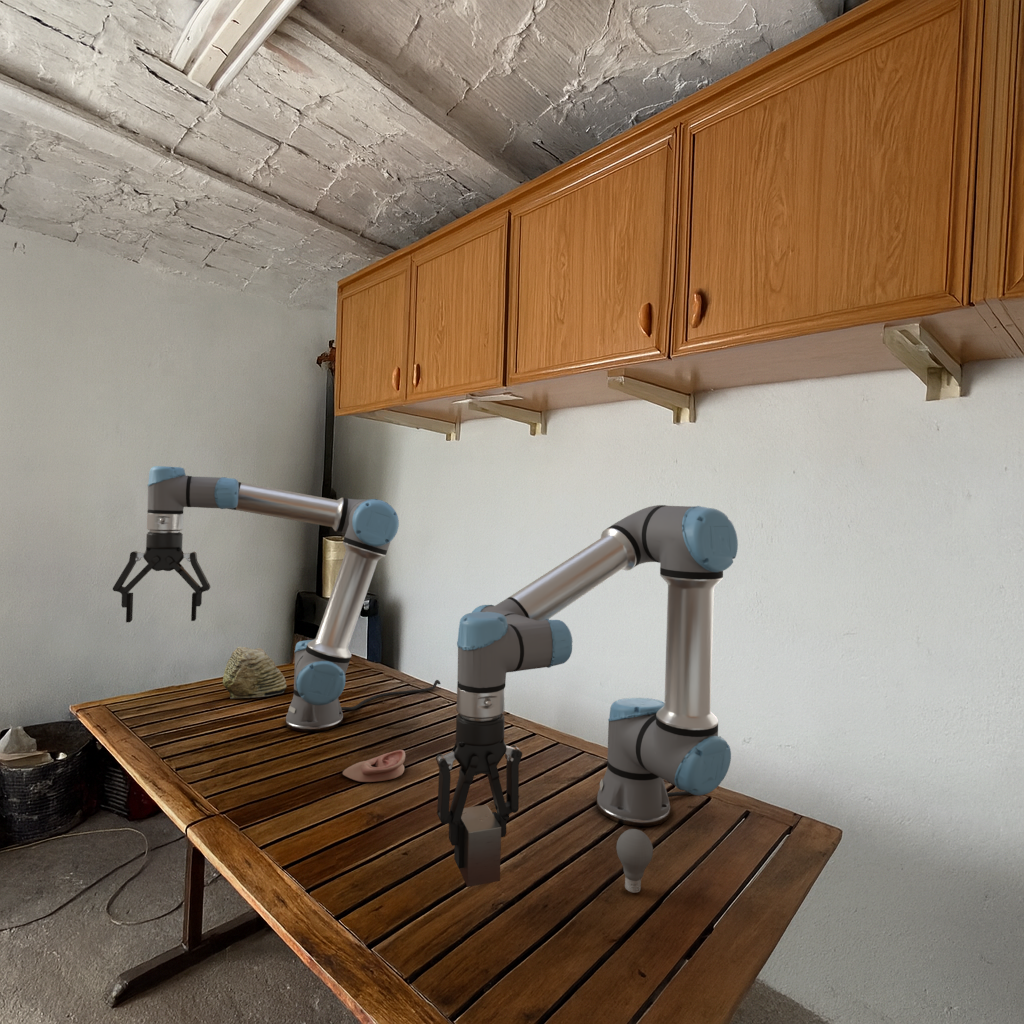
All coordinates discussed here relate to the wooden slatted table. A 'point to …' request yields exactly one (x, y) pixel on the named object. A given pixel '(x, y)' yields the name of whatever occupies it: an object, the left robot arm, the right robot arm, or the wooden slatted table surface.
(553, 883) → the wooden slatted table surface
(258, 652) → the fossil
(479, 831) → the block
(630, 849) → the light bulb
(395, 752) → the anatomical model
